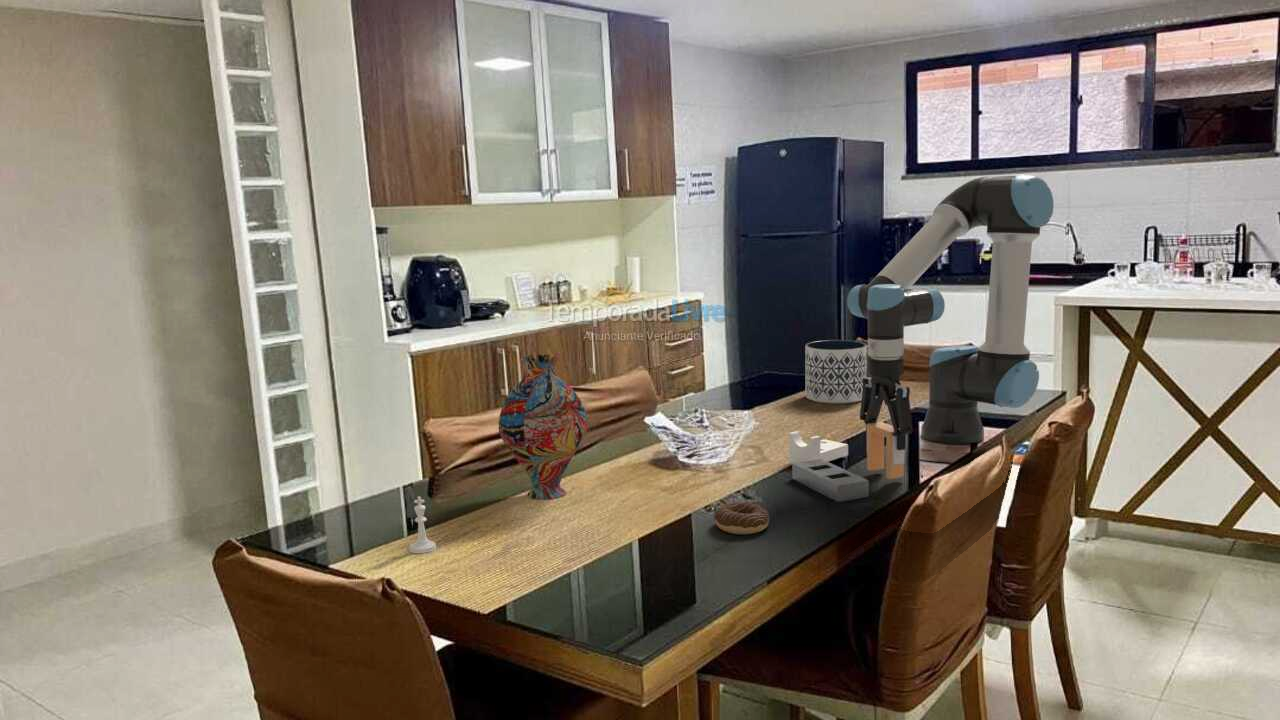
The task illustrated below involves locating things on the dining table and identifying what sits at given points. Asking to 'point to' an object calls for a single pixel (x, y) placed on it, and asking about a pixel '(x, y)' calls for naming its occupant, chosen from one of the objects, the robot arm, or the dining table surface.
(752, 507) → the donut
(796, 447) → the bracket
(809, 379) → the planter
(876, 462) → the clip
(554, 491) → the vase
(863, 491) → the grey slotted block
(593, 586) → the dining table surface
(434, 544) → the chess piece
